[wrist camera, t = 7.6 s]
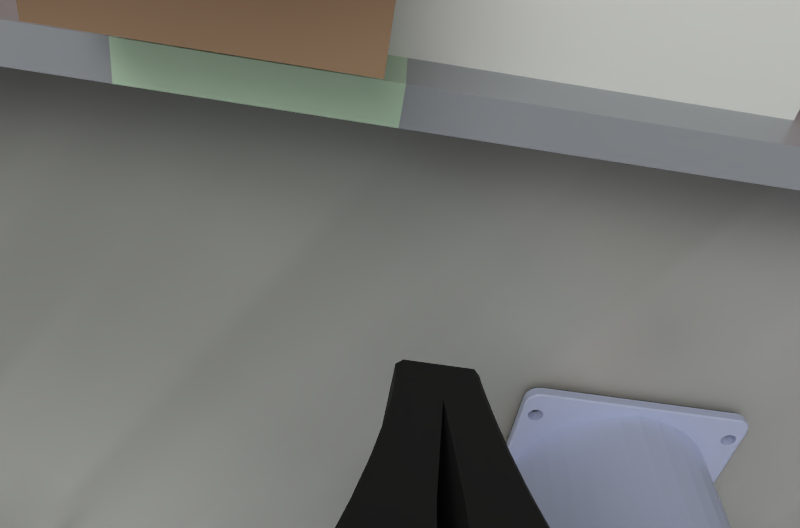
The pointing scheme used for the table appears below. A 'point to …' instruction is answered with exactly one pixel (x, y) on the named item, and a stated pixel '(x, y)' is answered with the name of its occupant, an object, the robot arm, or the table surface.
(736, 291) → the table surface
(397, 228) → the table surface
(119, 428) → the table surface
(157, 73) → the trap channel
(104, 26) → the walnut block
